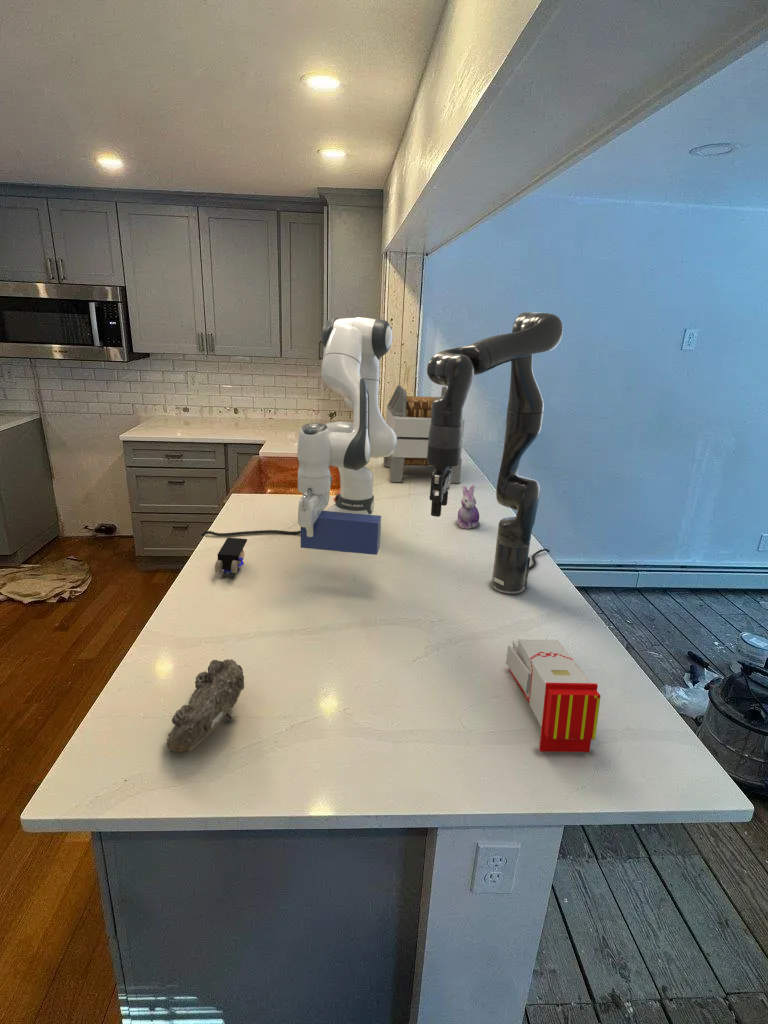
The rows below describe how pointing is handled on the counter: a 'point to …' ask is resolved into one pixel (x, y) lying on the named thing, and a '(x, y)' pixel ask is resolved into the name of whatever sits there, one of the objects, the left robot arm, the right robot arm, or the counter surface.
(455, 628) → the counter surface
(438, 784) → the counter surface
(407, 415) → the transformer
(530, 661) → the toy
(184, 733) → the fossil
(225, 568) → the figurine character
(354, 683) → the counter surface
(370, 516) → the box
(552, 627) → the counter surface
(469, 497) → the figurine
